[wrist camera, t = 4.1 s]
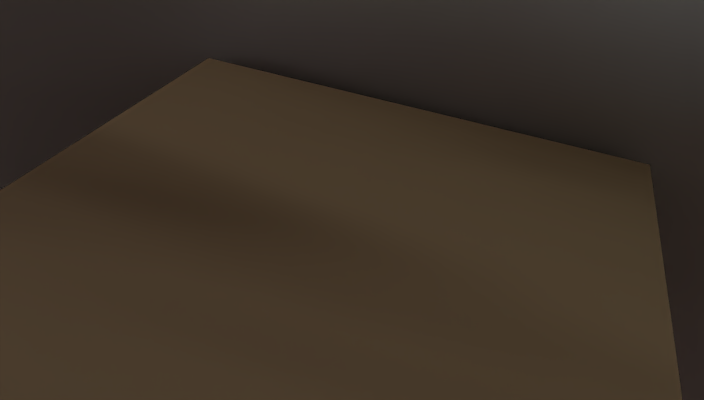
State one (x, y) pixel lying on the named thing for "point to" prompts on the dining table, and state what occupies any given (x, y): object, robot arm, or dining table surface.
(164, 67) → the dining table surface
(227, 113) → the walnut cube
